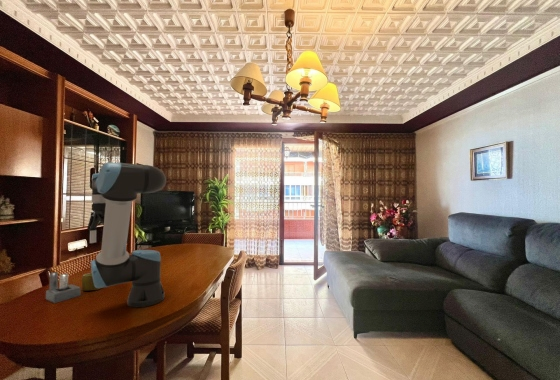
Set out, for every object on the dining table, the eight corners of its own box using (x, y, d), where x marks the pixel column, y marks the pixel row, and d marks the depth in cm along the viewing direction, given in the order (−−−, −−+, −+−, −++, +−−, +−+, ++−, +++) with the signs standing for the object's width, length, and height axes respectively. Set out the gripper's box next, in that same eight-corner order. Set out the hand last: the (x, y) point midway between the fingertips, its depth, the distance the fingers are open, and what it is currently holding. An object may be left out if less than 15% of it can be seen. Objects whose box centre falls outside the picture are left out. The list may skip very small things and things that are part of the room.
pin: (68, 296, 119) (69, 274, 119) (60, 299, 116) (61, 275, 116) (66, 295, 120) (66, 273, 121) (57, 297, 118) (58, 274, 118)
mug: (92, 290, 122) (91, 269, 125) (76, 295, 124) (76, 275, 127) (114, 286, 134) (113, 268, 137) (99, 291, 136) (98, 272, 139)
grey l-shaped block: (80, 295, 120) (81, 275, 120) (54, 303, 111) (54, 281, 112) (64, 289, 129) (64, 270, 130) (39, 295, 120) (39, 275, 121)
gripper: (122, 202, 126) (122, 243, 125) (95, 203, 137) (94, 241, 136) (106, 202, 120) (106, 245, 119) (79, 203, 131) (79, 243, 130)
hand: (100, 243), depth 127 cm, fingers open, 13 cm apart
